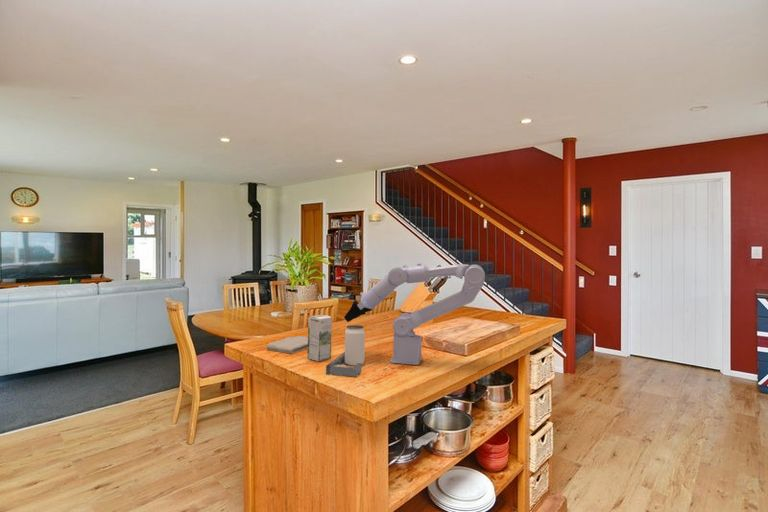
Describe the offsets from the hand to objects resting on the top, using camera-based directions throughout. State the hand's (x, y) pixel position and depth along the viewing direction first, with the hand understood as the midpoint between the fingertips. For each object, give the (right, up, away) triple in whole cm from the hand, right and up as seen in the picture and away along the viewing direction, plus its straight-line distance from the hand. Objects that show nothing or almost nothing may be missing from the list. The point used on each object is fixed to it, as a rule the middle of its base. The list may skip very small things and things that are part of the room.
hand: (349, 317), depth 136 cm
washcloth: (-22, -14, +12) cm, 28 cm away
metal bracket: (+2, -14, -11) cm, 17 cm away
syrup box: (-10, -14, -3) cm, 17 cm away
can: (+2, -14, -8) cm, 16 cm away
